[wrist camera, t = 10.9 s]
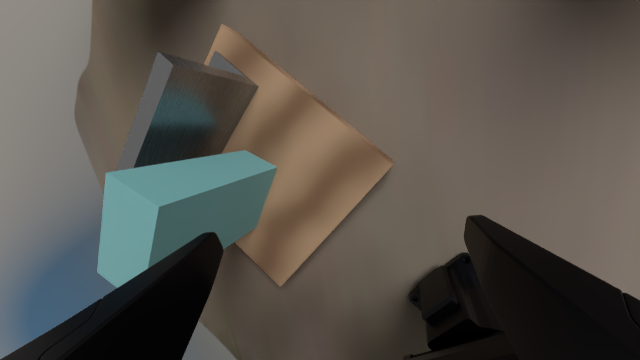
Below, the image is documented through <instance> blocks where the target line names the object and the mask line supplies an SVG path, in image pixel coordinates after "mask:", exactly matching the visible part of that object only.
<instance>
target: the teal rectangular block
mask: <svg viewBox="0 0 640 360" xmlns="http://www.w3.org/2000/svg"><path fill="white" fill-rule="evenodd" d="M276 170H277V167H276V166H274V165H272V164H271V163H269V162H267V161H265V160H263V159H261V158H259V157H257V156H255V155H254V154H252V153H250V152H248V151H246V150H243V151H236V152H230V153H224V154H218V155H212V156H206V157H200V158H193V159H187V160H181V161H175V162H169V163H163V164H156V165H150V166H144V167H138V168H132V169H126V170H119V171H113V172H107V173H106V179H105V190H104V202H103V213H102V224H101V236H100V247H99V258H98V270H97V272H98V273H99V274H100V275H102V276H103V277H104V278H105V279H107V280H108V281H109V282H111V283H112V284H113V285H114V286H116V287H117V288H118V287H120V286H121V285H123V284H124V283H126V282H128V281H129V280H131V279H132V278H134V277H135V276H137V275H138V274H140V273H142V272H143V271H145V270H146V269H148V268H149V267H151V266H152V265H154V264H156V263H157V262H159V261H160V260H162V259H163V258H165V257H167V256H168V255H170V254H171V253H173V252H174V251H176V250H177V249H179V248H181V247H182V246H184V245H185V244H187V243H188V242H190V241H191V240H193V239H195V238H196V237H198V236H199V235H201V234H202V233H205V232H215V233H216V234H217V236H218V238H219V240H220V242H221V244H222V246H223V250H224V249H225V248H227V247H228V246H230V245H231V244H232V243H234V242H235V241H237V240H238V239H240V238H241V237H243V236H244V235H246V234H247V233H249V232H250V231H251V230H253V229H254V228H256V227H257V224H258V221H259V218H260V215H261V213H262V210H263V207H264V204H265V201H266V198H267V196H268V193H269V190H270V187H271V184H272V181H273V179H274V176H275V173H276Z"/></svg>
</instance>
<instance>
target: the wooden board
mask: <svg viewBox="0 0 640 360" xmlns="http://www.w3.org/2000/svg"><path fill="white" fill-rule="evenodd" d="M215 51H217V52H219V53H220V54H221V55H222V56H224V57H225V58H226V59H227V60H228V61H230V62H231V63H232V64H233V65H234V66H235V67H237V68H238V69H239V70H240V71H241V72H242V73H244V74H245V75H246V76H247V77H248V78H250V79H251V80H252V81H253V82H254V83H255V84H257V85H258V86H259V87H258V89H257V91H256V92H255V94H254V96H253V98H252V100H251V101H250V103H249V105H248V107H247V109H246V110H245V112H244V114H243V116H242V118H241V119H240V121H239V123H238V125H237V127H236V128H235V130H234V132H233V134H232V136H231V137H230V139H229V141H228V143H227V145H226V146H225V148H224V150H223V152H222V154H224V153H230V152H236V151H243V150H246V151H248V152H250V153H252V154H254V155H255V156H257V157H259V158H261V159H263V160H265V161H267V162H269V163H271V164H272V165H274V166H276V167H277V170H276V173H275V176H274V179H273V181H272V184H271V187H270V190H269V193H268V196H267V198H266V201H265V204H264V207H263V210H262V213H261V215H260V218H259V221H258V224H257V227H256V228H254V229H253V230H251V231H250V232H249V233H247V234H246V235H244V236H243V237H241V238H240V239H238V240H237V241H235V243H236V244H237V245H238V246H239V247H240V248H241V249H242V250H243V251H244V252H245V253H246V254H247V255H248V256H249V257H250V258H251V259H252V260H253V261H254V262H255V263H256V264H257V265H258V266H259V267H260V268H261V269H262V270H263V271H264V272H266V273H267V274H268V275H269V276H270V277H271V278H272V279H273V280H274V281H275V282H276V283H277V284H278V285H279V286H280V287H281V286H282V285H283V284H284V283H285V282H286V281H287V280H288V278H289V277H290V276H291V275H292V274H293V273H294V272H295V271H296V270H297V269H298V268H299V267H300V265H301V264H302V263H303V262H304V261H305V260H306V259H307V258H308V257H309V256H310V255H311V254H312V252H313V251H314V250H315V249H316V248H317V247H318V246H319V245H320V244H321V243H322V242H323V240H324V239H325V238H326V237H327V236H328V235H329V234H330V233H331V232H332V231H333V230H334V229H335V227H336V226H337V225H338V224H339V223H340V222H341V221H342V220H343V219H344V218H345V217H346V216H347V214H348V213H349V212H350V211H351V210H352V209H353V208H354V207H355V206H356V205H357V204H358V202H359V201H360V200H361V199H362V198H363V197H364V196H365V195H366V194H367V193H368V192H369V191H370V189H371V188H372V187H373V186H374V185H375V184H376V183H377V182H378V181H379V180H380V179H381V178H382V176H383V175H384V174H385V173H386V172H387V171H388V170H389V169H390V168H391V167H392V166H393V163H394V161H393V160H392V159H390V158H389V157H388V156H387V155H386V154H384V153H383V152H382V151H381V150H379V149H378V148H377V147H376V146H375V145H373V144H372V143H371V142H370V141H369V140H367V139H366V138H365V137H364V136H363V135H361V134H360V133H359V132H358V131H356V130H355V129H354V128H353V127H352V126H350V125H349V124H348V123H347V122H346V121H344V120H343V119H342V118H341V117H340V116H338V115H337V114H336V113H335V112H333V111H332V110H331V109H330V108H329V107H327V106H326V105H325V104H324V103H323V102H321V101H320V100H319V99H318V98H316V97H315V96H314V95H313V94H312V93H310V92H309V91H308V90H307V89H306V88H304V87H303V86H302V85H301V84H300V83H298V82H297V81H296V80H295V79H293V78H292V77H291V76H290V75H289V74H287V73H286V72H285V71H284V70H283V69H281V68H280V67H279V66H278V65H276V64H275V63H274V62H273V61H272V60H270V59H269V58H268V57H267V56H266V55H264V54H263V53H262V52H261V51H260V50H258V49H257V48H256V47H255V46H253V45H252V44H251V43H250V42H249V41H247V40H246V39H245V38H244V37H243V36H241V35H240V34H239V33H238V32H236V31H234V30H232V29H230V28H229V27H227V26H225V25H223V24H221V27H220V29H219V31H218V34H217V36H216V38H215V40H214V43H213V45H212V47H211V49H210V52H209V54H208V56H207V58H206V61H205V63H204V65H207V66H208V65H209V63H210V61H211V58H212V56H213V54H214V52H215Z"/></svg>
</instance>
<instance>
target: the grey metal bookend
mask: <svg viewBox="0 0 640 360" xmlns="http://www.w3.org/2000/svg"><path fill="white" fill-rule="evenodd" d="M258 87H259V86H258V85H257V84H255V83H254V82H253V81H252V80H251V79H250V78H248V77H247V76H246V75H245V74H244V73H242V72H241V71H240V70H239V69H238V68H237V67H235V66H234V65H233V64H232V63H231V62H230V61H228V60H227V59H226V58H225V57H224V56H222V55H221V54H220V53H219V52H217V51H215V52H214V54H213V56H212V58H211V61H210V63H209V65H208V66H207V65H203V64H200V63H197V62H193V61H190V60H186V59H183V58H179V57H176V56H172V55H169V54H166V53H162V52H159V51H158V53H157V56H156V59H155V62H154V64H153V67H152V70H151V73H150V76H149V78H148V81H147V84H146V87H145V90H144V92H143V95H142V98H141V101H140V104H139V107H138V109H137V112H136V115H135V118H134V121H133V123H132V126H131V129H130V132H129V135H128V137H127V140H126V143H125V146H124V149H123V152H122V154H121V157H120V160H119V163H118V166H117V168H116V171H119V170H126V169H132V168H138V167H144V166H150V165H156V164H163V163H169V162H175V161H181V160H187V159H193V158H200V157H206V156H212V155H218V154H222V152H223V150H224V148H225V146H226V145H227V143H228V141H229V139H230V137H231V136H232V134H233V132H234V130H235V128H236V127H237V125H238V123H239V121H240V119H241V118H242V116H243V114H244V112H245V110H246V109H247V107H248V105H249V103H250V101H251V100H252V98H253V96H254V94H255V92H256V91H257V89H258Z"/></svg>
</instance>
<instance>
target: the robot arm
mask: <svg viewBox="0 0 640 360" xmlns="http://www.w3.org/2000/svg"><path fill="white" fill-rule="evenodd" d="M464 241H465V244H466V247H467V249H468V252H469V253H461V254H459V255H458V256H457V257H456V258H454V259H453V260H452V261H450V262H449V263H448V264H447V265H445V266H440V267H439V268H438V269H436V270H435V271H434V272H432V273H431V274H430V275H429V276H427V277H426V278H425V279H423V280H422V281H421V282H420V285H419V286H418V287H417V288H415V289H414V290H413V291H411V292H410V294H409V299H410V301H411V302H412V303H413V304H414V305H415V306H416V307H417V308H418V309H419V310H421V311H422V318H423V320H425V321H426V332H427V342H428V347H429V348H430V349H431V350H432V351H428V352H424V353H421V354H417V355H412V354H410V355H407V356H404V358H403V360H640V300H638V299H636V298H635V297H633V296H631V295H629V294H627V293H622V291H621V290H620V289H618V288H616V287H614V286H612V285H610V284H609V283H607V282H605V281H603V280H601V279H599V278H597V277H596V276H594V275H592V274H590V273H588V272H586V271H585V270H583V269H581V268H579V267H577V266H575V265H573V264H572V263H570V262H568V261H566V260H564V259H562V258H561V257H559V256H557V255H555V254H553V253H551V252H549V251H548V250H546V249H544V248H542V247H540V246H538V245H537V244H535V243H533V242H531V241H529V240H527V239H525V238H524V237H522V236H520V235H518V234H516V233H514V232H513V231H511V230H509V229H507V228H505V227H503V226H501V225H500V224H498V223H496V222H494V221H492V220H490V219H488V218H487V217H485V216H483V215H472V216H468V217H467V219H466V224H465V231H464ZM222 255H223V246H222V244H221V242H220V240H219V238H218V236H217V234H216V233H215V232H205V233H202V234H201V235H199V236H198V237H196V238H195V239H193V240H191V241H190V242H188V243H187V244H185V245H184V246H182V247H181V248H179V249H177V250H176V251H174V252H173V253H171V254H170V255H168V256H167V257H165V258H163V259H162V260H160V261H159V262H157V263H156V264H154V265H152V266H151V267H149V268H148V269H146V270H145V271H143V272H142V273H140V274H138V275H137V276H135V277H134V278H132V279H131V280H129V281H128V282H126V283H124V284H123V285H121V286H120V287H118V288H117V289H115V290H114V291H112V292H110V293H109V294H107V295H106V296H104V297H103V299H100V300H98V301H96V302H95V303H93V304H92V305H90V306H88V307H87V308H85V309H84V310H82V311H80V312H79V313H78V314H76V315H74V316H72V317H71V318H69V319H68V320H66V321H65V322H63V323H61V324H60V325H58V326H56V327H55V328H53V329H51V330H50V331H48V332H46V333H44V334H43V335H41V336H39V337H38V338H36V339H34V340H33V341H31V342H29V343H27V344H26V345H24V346H22V347H21V348H19V349H17V350H16V351H14V352H12V353H11V354H9V355H7V356H5V357H4V358H2V359H0V360H182V357H183V355H184V353H185V351H186V348H187V346H188V344H189V341H190V339H191V337H192V334H193V332H194V329H195V327H196V325H197V323H198V320H199V318H200V316H201V313H202V311H203V309H204V306H205V304H206V302H207V299H208V297H209V294H210V292H211V289H212V286H213V284H214V280H215V277H216V274H217V271H218V268H219V265H220V262H221V259H222ZM464 258H468V259H469V260H468V261H463V259H464ZM414 296H415V297H418V298H417V299H415V298H413V297H414Z"/></svg>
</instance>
